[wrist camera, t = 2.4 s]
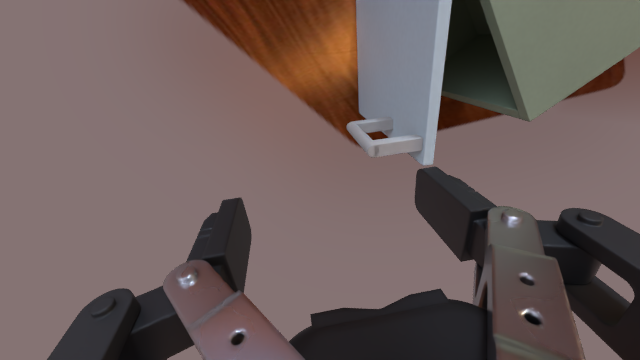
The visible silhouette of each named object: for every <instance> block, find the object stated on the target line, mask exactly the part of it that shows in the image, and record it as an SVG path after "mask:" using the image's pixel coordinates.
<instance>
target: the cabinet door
mask: <svg viewBox="0 0 640 360" xmlns="http://www.w3.org/2000/svg"><path fill="white" fill-rule="evenodd" d="M451 4H452V0H356V20H357V57H358V94H359V113H360V114H361V115H362V116H363V117H365V118H366V119H367V120H361V121H353V122H350V123H348V125H347V130H348V131H349V133H350V134H351V135H352V136H353V137H354V139H355V140H356V141H357V142H358V144H359V145H360V146H361V147H362V148H363V150H364V151H365V152H366V153H367V155H368V156H370V157H380V156H388V155H394V154H401V153H408V154H409V155H411V156H412V157H413V158H415V159H416V160H417V161H418V162H419V163H420V164H421V165H423V166H425V165H432V164H433V159H434V150H435V142H436V133H437V125H438V116H439V108H440V99H441V90H442V82H443V73H444V64H445V56H446V47H447V39H448V30H449V21H450V13H451ZM377 131H382V132H383V133H384V134H385V135H386V136H388V137H389V138H386V139H379V140H372V139H371V138H370V137H369V136H368V135H367V134H366V133H370V132H377Z"/></svg>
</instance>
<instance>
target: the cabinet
mask: <svg viewBox="0 0 640 360" xmlns="http://www.w3.org/2000/svg"><path fill="white" fill-rule="evenodd" d="M639 47H640V0H452V4H451V13H450V21H449V30H448V39H447V47H446V56H445V64H444V73H443V82H442V90H441V95H442V96H445V97H448V98H452V99H455V100H458V101H462V102H465V103H468V104H472V105H475V106H478V107H482V108H485V109H489V110H492V111H495V112H499V113H502V114H505V115H509V116H512V117H515V118H519V119H522V120H525V121H529V122H530V121H532V120H533V119H535V118H536V117H538V116H539V115H541V114H542V113H544V112H545V111H547V110H548V109H550V108H551V107H553V106H554V105H555V104H557V103H558V102H560V101H561V100H563V99H564V98H566V97H567V96H569V95H570V94H572V93H573V92H575V91H576V90H577V89H579V88H580V87H582V86H583V85H585V84H586V83H588V82H589V81H591V80H592V79H594V78H595V77H597V76H598V75H600V74H601V73H602V72H604V71H605V70H607V69H608V68H610V67H611V66H613V65H614V64H616V63H617V62H619V61H620V60H622V59H623V58H625V57H626V56H627V55H629V54H630V53H632V52H633V51H635V50H636V49H638V48H639Z"/></svg>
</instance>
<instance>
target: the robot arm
mask: <svg viewBox="0 0 640 360" xmlns="http://www.w3.org/2000/svg"><path fill="white" fill-rule="evenodd" d="M415 205H416V208H417V210H418V211H419V213H420V214H421V215H422V216H423V217H424V219H425V220H426V221H427V222H428V223H429V224H430V225H431V227H432V228H433V229H434V230H435V232H436V233H437V234H438V235H439V236H440V237H441V239H442V240H443V241H444V242H445V243H446V244H447V246H448V247H449V248H450V249H451V250H452V252H453V253H454V254H455V255H456V256H457V258H458V259H459V260H460V261H461V262H462V261H467V260H473V259H474V260H475V261H476V265H475V271H474V289H473V304H470V303H466V302H463V301H458V300H451V299H447V297H446V296H445V294H444V293H443V291H442V290H441V289H436V290H431V291H427V292H421V293H416V294H411V295H408V296H406V297H404V298H402V299H400V300H398V301H396V302H394V303H392V304H390V305H388V306H386V307H384V308H382V309H358V308H357V309H356V308H340V309H335V310H330V311H325V312H320V313H315V314H311V322H312V326H310V327H308V328H306V329H304V330H303V331H301V332H300V333H298V334H297V335H296V336H295V337H293V338H292V339H291V340H290V341H289V342H288V341H287V340H286V339H285V338H284V336H283V335H282V334H281V333H280V332H279V331H278V330H277V329H276V328H275V327H274V326H273V325H272V323H270V321H269V320H268V319H267V318H266V317H265V316H264V315H263V314H262V313H261V312H260V311H259V310H258V308H257V307H256V306H255V305H254V304H253V303H252V302H251V301H250V300H249V299H248V298H247V297H246V296H245V294H244V286H245V279H246V272H247V266H248V259H249V251H250V245H251V229H250V224H249V221H248V217H247V214H246V211H245V207H244V204H243V201H242V199H241V198H234V199H228V200H223V201H222V203H221V206H220V209H219V212H218V213H212V214H211V215H210V216H209V217H208V218H207V219H206V220H205V221H204V223H203V225H202V227H201V229H200V232H199V234H198V236H197V239H196V241H195V243H194V245H193V248H192V250H191V253H190V255H189V257H188V259H187V261H186V262H185V263H183V264H181V265H179V266H178V267H176V268H175V269H174V270H172V271H171V272H170V273H169V274H168V275H167V277H166V278H165V280H164V283H163V286H161V287H159V288H157V289H154V290H152V291H149V292H147V293H144V294H142V295H139V296H137V297H135V296H134V295H133V293H132V292H131V291H130V290H129V289H115V290H112V291H109V292H107V293H105V294H103V295H101V296H99V297H97V298H96V299H94V300H93V301H92V302H90V303H89V304H88V305H87V306H86V307H84V309H83V310H82V311H81V312H80V313H79V314H78V316H77V317H76V319H75V320H74V321H73V323H72V324H71V326H70V327H69V329H68V330H67V332H66V333H65V334H64V336H63V337H62V339H61V340H60V342H59V343H58V345H57V346H56V347H55V349H54V351H53V352H52V353H51V355H50V356H49V358H48V359H47V360H167V358H169V357H171V356H173V355H175V354H177V353H179V352H181V351H183V350H185V349H187V348H189V347H191V346H193V345H195V346H196V348H197V350H198V351H199V353H200V355H201V357H202V358H203V360H586V359H585V356H584V352H583V348H582V345H581V342H580V338H579V335H578V331H577V328H576V324H575V321H574V317H573V314H572V311H573V312H574V313H575V314H576V315H577V316H578V317H579V318H580V319H581V320H582V321H584V322H585V323H586V324H587V325H588V326H589V327H590V328H591V329H592V330H593V331H594V332H595V333H596V334H597V335H598V336H599V337H600V338H601V339H602V340H603V341H604V342H605V343H606V344H607V345H608V346H609V347H610V348H611V349H613V350H614V351H615V352H616V353H617V354H618V355H619V356H620V357H621V358H622V359H623V360H640V234H639V233H637V232H635V231H633V230H631V229H630V228H628V227H626V226H624V225H622V224H620V223H619V222H617V221H615V220H613V219H612V218H610V217H608V216H606V215H603V214H601V213H598V212H595V211H591V210H587V209H580V208H569V209H566V210H563V211H562V212H561V214H560V217H559V219H558V221H541V220H536V219H535V218H534V217H533V216H532V215H530V214H529V213H527V212H525V211H523V210H520V209H517V208H513V207H507V206H498V207H497V206H496V205H494V204H493V203H492V202H490V201H489V200H488V199H486V198H485V197H483V196H482V195H481V194H479V193H478V192H475V190H474V189H473V188H471V187H468V185H467V184H466V183H464V182H463V181H461V180H460V179H457V178H455V177H452V176H450V175H447V174H445V173H444V172H443V171H441V170H440V169H439V168H437V167H430V168H424V169H419V170H418V171H417V175H416V188H415ZM601 264H603V265H605V266H606V267H608V268H609V269H610V270H612V271H613V272H615V273H616V274H617V275H619V276H620V277H622V278H623V279H624V280H626V281H627V282H628V283H629V284H630V286H631V287H632V289H633V291H634V295H635V297H634V300H633V301H632V303H629V302H628V301H627V300H626V299H624V298H623V297H622V296H620V295H619V294H618V293H616V292H615V291H614V290H613V289H611V288H610V287H609V286H607V285H606V284H605V283H604V282H602V281H601V280H600V279H598V278H597V277H596V276H595V275H596V273H597V271H598V269H599V267H600V266H601Z"/></svg>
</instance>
